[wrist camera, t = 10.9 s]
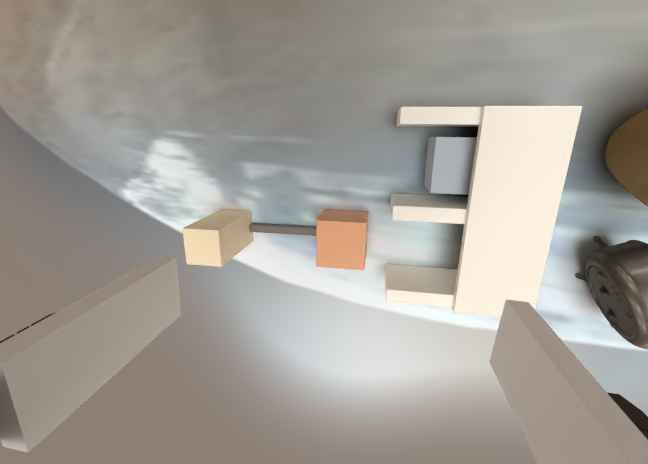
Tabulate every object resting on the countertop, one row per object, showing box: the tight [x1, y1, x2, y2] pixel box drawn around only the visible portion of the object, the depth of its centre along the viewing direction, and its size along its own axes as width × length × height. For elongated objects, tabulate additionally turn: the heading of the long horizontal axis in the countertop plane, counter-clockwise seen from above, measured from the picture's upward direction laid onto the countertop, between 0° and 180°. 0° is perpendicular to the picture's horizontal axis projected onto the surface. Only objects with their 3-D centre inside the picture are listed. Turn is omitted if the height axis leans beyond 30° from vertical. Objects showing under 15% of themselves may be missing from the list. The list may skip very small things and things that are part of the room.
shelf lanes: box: [385, 106, 582, 317], centre depth 37 cm, size 22×16×9 cm
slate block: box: [424, 137, 477, 195], centre depth 37 cm, size 6×6×6 cm
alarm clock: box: [575, 236, 648, 349], centre depth 33 cm, size 11×5×16 cm, turn 25°
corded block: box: [182, 210, 368, 270], centre depth 41 cm, size 6×21×10 cm, turn 90°
